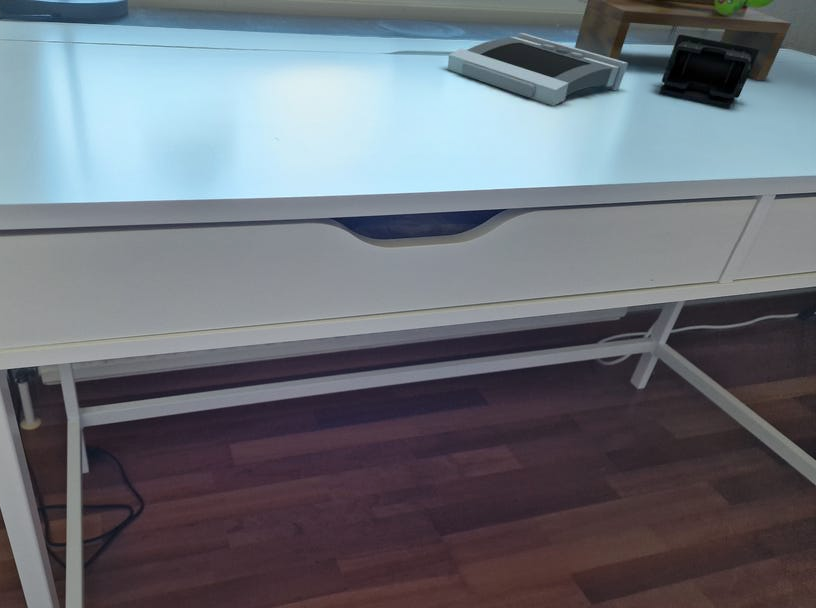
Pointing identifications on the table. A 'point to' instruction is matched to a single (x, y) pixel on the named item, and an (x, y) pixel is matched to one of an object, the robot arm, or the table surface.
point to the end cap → (707, 70)
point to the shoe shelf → (687, 7)
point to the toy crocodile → (737, 5)
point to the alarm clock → (537, 67)
